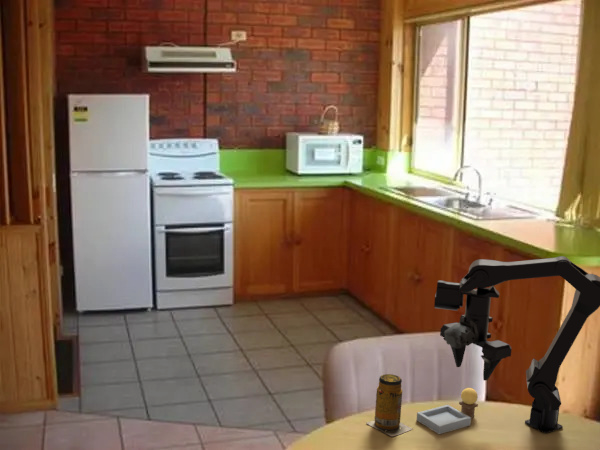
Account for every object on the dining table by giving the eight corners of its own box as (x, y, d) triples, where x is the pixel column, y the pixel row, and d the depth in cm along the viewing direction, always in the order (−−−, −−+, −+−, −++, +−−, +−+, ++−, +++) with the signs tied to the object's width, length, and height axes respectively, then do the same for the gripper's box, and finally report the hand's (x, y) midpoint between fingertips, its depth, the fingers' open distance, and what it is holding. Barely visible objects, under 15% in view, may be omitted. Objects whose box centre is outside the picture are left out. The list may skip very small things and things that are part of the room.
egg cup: (467, 410, 186) (468, 398, 186) (476, 416, 184) (478, 403, 183) (458, 413, 185) (459, 401, 184) (467, 418, 182) (468, 406, 181)
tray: (447, 411, 185) (447, 404, 185) (470, 425, 179) (470, 417, 178) (416, 420, 180) (417, 412, 180) (439, 434, 173) (439, 426, 173)
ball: (468, 399, 186) (470, 384, 186) (480, 405, 183) (481, 390, 182) (456, 402, 184) (458, 387, 184) (468, 408, 181) (469, 393, 180)
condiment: (387, 416, 182) (390, 370, 179) (413, 429, 175) (416, 381, 173) (365, 423, 177) (368, 376, 175) (391, 437, 171) (395, 389, 168)
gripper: (425, 306, 182) (421, 365, 186) (481, 329, 167) (475, 394, 170) (459, 300, 188) (454, 358, 191) (515, 322, 173) (509, 385, 176)
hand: (471, 373), depth 182 cm, fingers open, 9 cm apart
